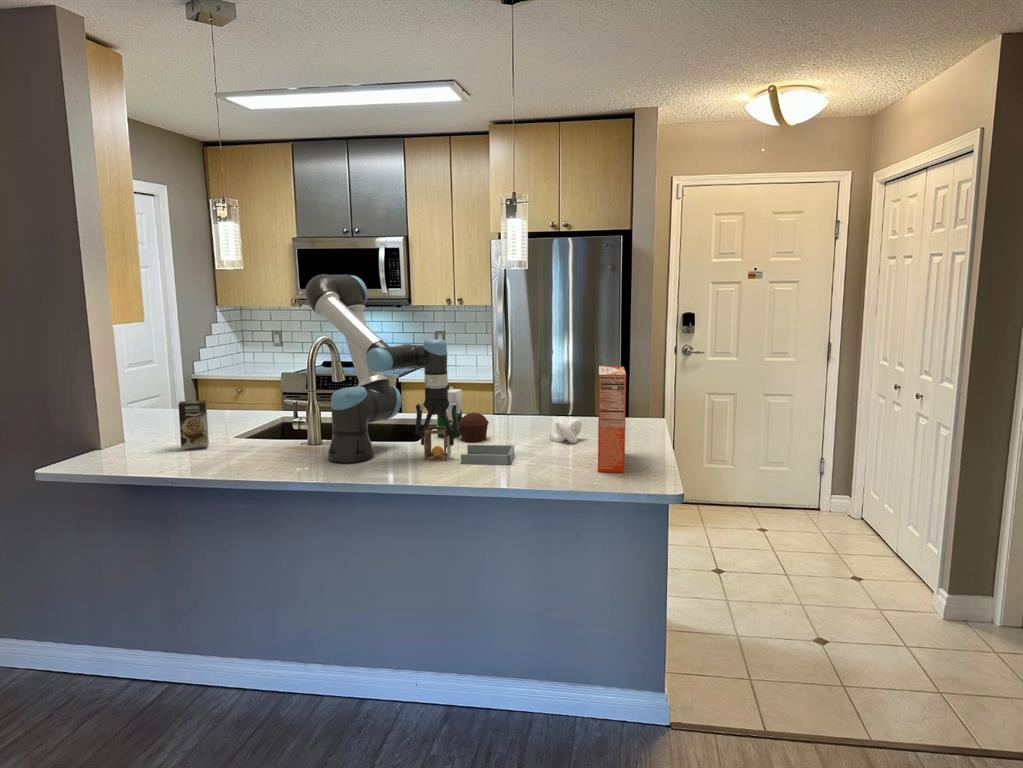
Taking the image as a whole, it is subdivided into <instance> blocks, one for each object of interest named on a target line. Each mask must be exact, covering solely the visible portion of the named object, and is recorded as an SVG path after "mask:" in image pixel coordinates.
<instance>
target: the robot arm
mask: <svg viewBox="0 0 1023 768" xmlns="http://www.w3.org/2000/svg"><path fill="white" fill-rule="evenodd" d="M304 293H305V299H306V301H307V304H308V306H309V307H310V309H312V311H314V312H315V314H317V315H318V316H320V317H324V318H325V319H326V320H327V321H329V323H330V324H331V325H332V326H334V328H335V329H337V331H339V332H340V333H341V334H342V335H343V336H344V338H345V342H346V345H347V348H348V351H349V355H350V358H351V361H352V365H353V367H354V370H355V371H354V372H355V374H356V376H357V380H358V384H357V385H356V386H351V387H344V388H340V389H337V390H336V391H335V390H334V392H333V393H332V394H331V397H330V398H331V399H330V402H331V403H330V409H331V422H332V423H331V424H332V425H331V426H332V427H331V428H332V436H331V441H330V445H329V448H328V452H327V457H328V460H329V461H331V462H335V463H357V462H363V461H369V460H371V459H372V458H374V457H375V450H374V447H373V443H372V441H371V438H370V437H369V429H368V427H369V425H368V424H371V423H375V422H380V421H386V420H389V419H391V418H394V417H395V416H396V415H398V413H399V412H400V409H401V407H402V395H401V393H400V391H399V389H398V388H397V387H396V386H394V385H391V383H390V380H389V378H388V377H386V376H385V375H384V374H383V373H384V372H389V371H395V370H403V369H410V368H411V369H412V368H421V369H424V386H425V387H424V402H423V403H417V404H416V405H415V409H416V417H415V418H416V419H415V431H414V433H415V434H416V435H419V436H420V445H421V446H423V454H424V455H423V456H424V457H425V436H424V430H426V429H427V428H428V427H429V426H430V425H429V424H430V423H431V419H432V418H433V417H432V416H436V415H441V417H442V418H443V421H444V424H445V426H446V429H447V431H448V434H449V435H448V436H447V448H446V453H447V456H446V457H450V456H451V455H452V446H454V444H455V439H454V435H457V434H458V433H459V426H458V419H457V406H458V405H457V404H450V403H449V401H448V388H447V387H446V386H447V385H448V384H449V382H448V381H449V380H448V378H449V377H448V375H449V374H448V353H449V352H448V345H447V341H446V340H444V339H426V340H424V341H423V345H421V344H411V343H405V344H400V345H397V346H390V345H389V344H388V343H387V342H385V341H384V340H383V339H382V338H381V337H380V336H379V335H377V333H376V332H374V331H373V330H372V329H371V328H370V326H368V325H367V322H366V319H365V316H364V311H365V309H366V305H365V304H366V303H367V300H368V295H369V294H368V288H367V286H366V284H365V282H364V281H363V279H361V278H360V277H358V276H356V275H350V274H327V273H326V274H325V273H324V274H323V273H322V274H317V275H316V276H313V277H312V278H311V279H310V280H309V281H308V283H307V285H306V286H305V290H304ZM448 407H450V410H451V411H452V419H453V427H454V431H453V429H452V427H451V424H450V422H449V419H448V417H447V413H446V410H447V408H448ZM424 408H425V409H426V411H427V413H426V418H425V420H424V423H423V426H422V418H423V410H424ZM421 427H422V429H421Z"/></svg>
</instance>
